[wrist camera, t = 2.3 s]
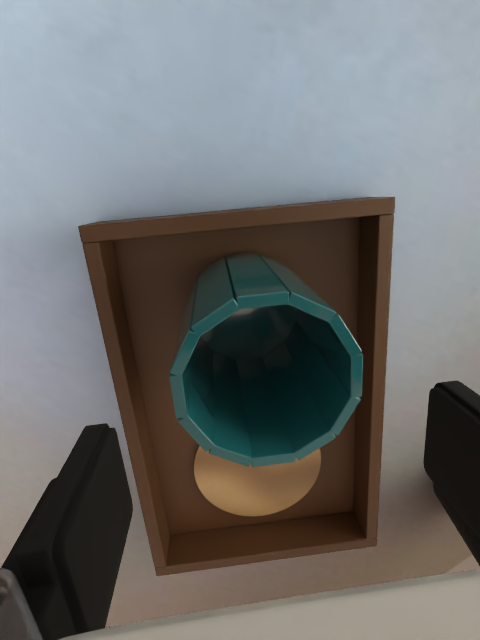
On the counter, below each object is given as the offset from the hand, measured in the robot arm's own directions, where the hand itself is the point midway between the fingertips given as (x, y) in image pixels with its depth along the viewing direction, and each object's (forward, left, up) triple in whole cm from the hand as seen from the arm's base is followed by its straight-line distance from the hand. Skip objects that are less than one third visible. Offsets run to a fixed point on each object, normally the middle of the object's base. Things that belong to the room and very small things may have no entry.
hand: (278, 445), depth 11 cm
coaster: (+11, 0, -12) cm, 16 cm away
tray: (+6, 0, -13) cm, 14 cm away
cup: (0, 0, -12) cm, 12 cm away
